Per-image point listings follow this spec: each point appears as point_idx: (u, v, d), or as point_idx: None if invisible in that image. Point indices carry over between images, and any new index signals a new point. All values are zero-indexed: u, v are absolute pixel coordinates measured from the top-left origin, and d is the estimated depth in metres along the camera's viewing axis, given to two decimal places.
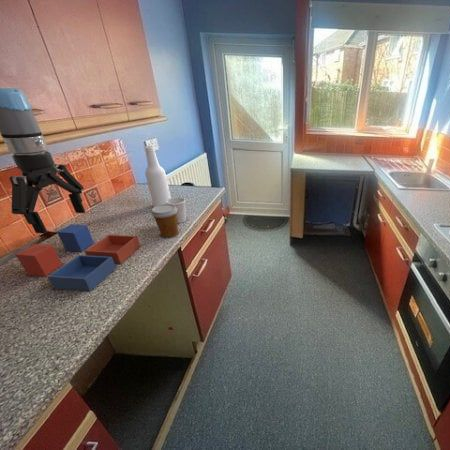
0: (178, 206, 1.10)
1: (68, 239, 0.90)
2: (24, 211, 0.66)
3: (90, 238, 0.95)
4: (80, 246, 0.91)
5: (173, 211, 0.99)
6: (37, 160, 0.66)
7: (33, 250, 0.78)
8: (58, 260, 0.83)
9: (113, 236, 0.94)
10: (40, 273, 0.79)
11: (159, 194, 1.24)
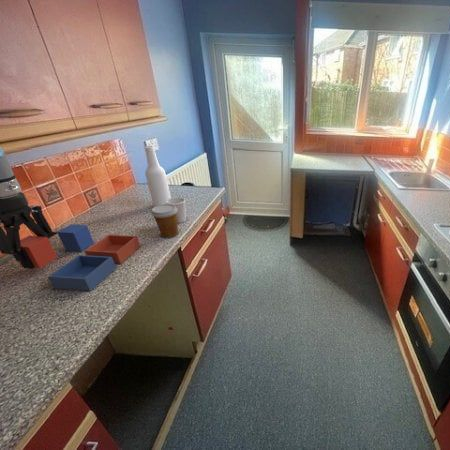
0: (178, 206, 1.10)
1: (68, 239, 0.90)
2: (12, 251, 0.72)
3: (90, 238, 0.95)
4: (80, 246, 0.91)
5: (173, 211, 0.99)
6: (9, 203, 0.69)
7: (27, 242, 0.77)
8: (53, 252, 0.82)
9: (113, 236, 0.94)
10: (34, 265, 0.78)
11: (159, 194, 1.24)
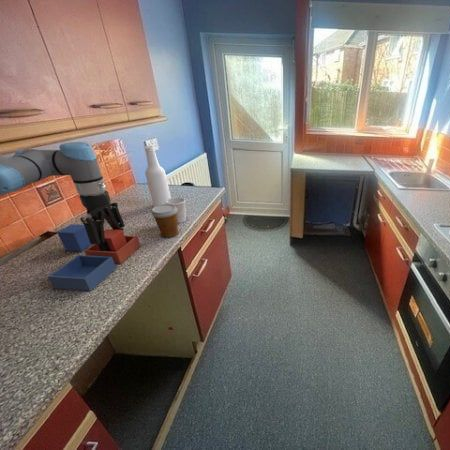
0: (178, 206, 1.10)
1: (68, 239, 0.90)
2: (99, 241, 0.82)
3: None
4: (80, 246, 0.91)
5: (173, 211, 0.99)
6: (99, 199, 0.79)
7: (107, 234, 0.87)
8: None
9: None
10: None
11: (159, 194, 1.24)
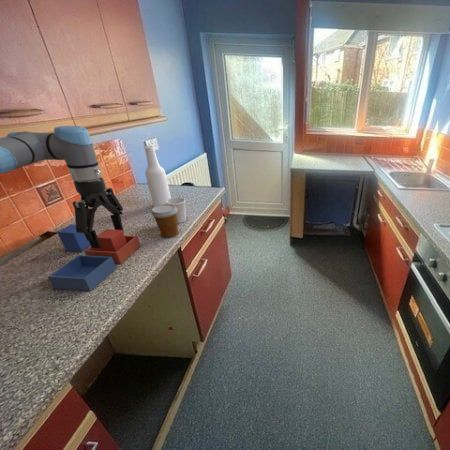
0: (178, 206, 1.10)
1: (68, 239, 0.90)
2: (86, 230, 0.78)
3: None
4: (80, 246, 0.91)
5: (173, 211, 0.99)
6: (94, 186, 0.77)
7: (107, 234, 0.87)
8: None
9: None
10: None
11: (159, 194, 1.24)
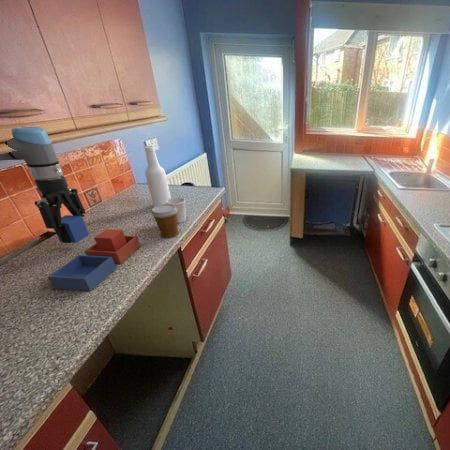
0: (178, 206, 1.10)
1: None
2: (55, 226, 0.84)
3: (85, 229, 0.93)
4: (75, 237, 0.89)
5: (173, 211, 0.99)
6: (54, 184, 0.81)
7: (107, 234, 0.87)
8: None
9: None
10: None
11: (159, 194, 1.24)
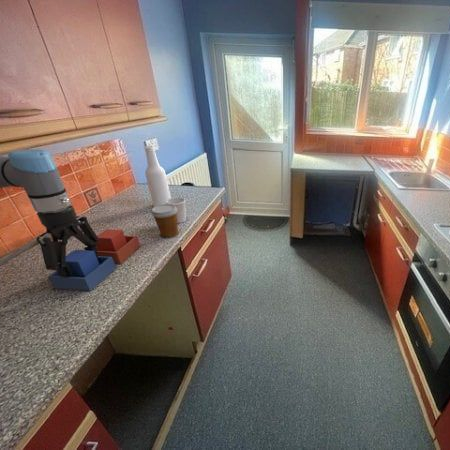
0: (178, 206, 1.10)
1: (72, 269, 0.75)
2: (57, 267, 0.69)
3: (98, 265, 0.80)
4: None
5: (173, 211, 0.99)
6: (61, 217, 0.67)
7: (107, 234, 0.87)
8: None
9: None
10: None
11: (159, 194, 1.24)
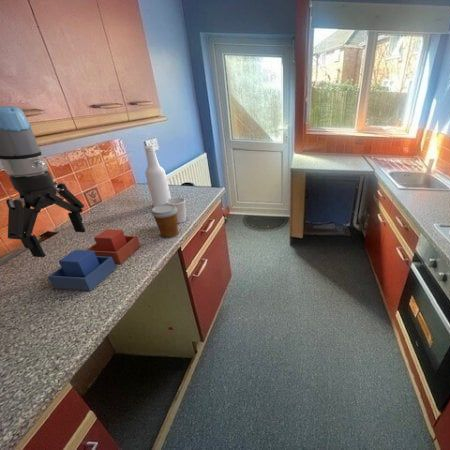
0: (178, 206, 1.10)
1: (72, 269, 0.75)
2: (21, 236, 0.62)
3: (98, 265, 0.80)
4: None
5: (173, 211, 0.99)
6: (35, 182, 0.62)
7: (107, 234, 0.87)
8: None
9: None
10: None
11: (159, 194, 1.24)
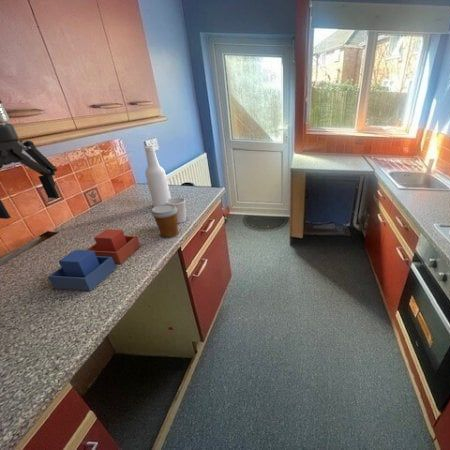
0: (178, 206, 1.10)
1: (72, 269, 0.75)
2: None
3: (98, 265, 0.80)
4: None
5: (173, 211, 0.99)
6: None
7: (107, 234, 0.87)
8: None
9: None
10: None
11: (159, 194, 1.24)
